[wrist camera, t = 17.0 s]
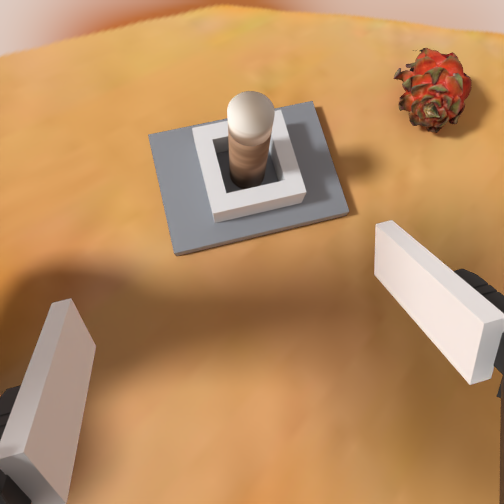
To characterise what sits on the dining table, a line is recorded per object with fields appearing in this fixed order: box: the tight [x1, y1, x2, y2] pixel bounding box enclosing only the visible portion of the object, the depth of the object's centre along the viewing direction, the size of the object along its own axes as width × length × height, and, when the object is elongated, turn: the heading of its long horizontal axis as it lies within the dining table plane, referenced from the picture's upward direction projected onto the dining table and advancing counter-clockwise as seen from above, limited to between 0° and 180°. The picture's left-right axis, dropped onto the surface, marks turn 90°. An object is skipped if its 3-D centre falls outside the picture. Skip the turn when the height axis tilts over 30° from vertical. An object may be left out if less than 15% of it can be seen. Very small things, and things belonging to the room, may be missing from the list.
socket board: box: [148, 101, 349, 256], centre depth 47 cm, size 22×16×5 cm
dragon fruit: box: [394, 48, 471, 133], centre depth 50 cm, size 8×8×12 cm
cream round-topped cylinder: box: [227, 91, 275, 189], centre depth 42 cm, size 4×4×13 cm
